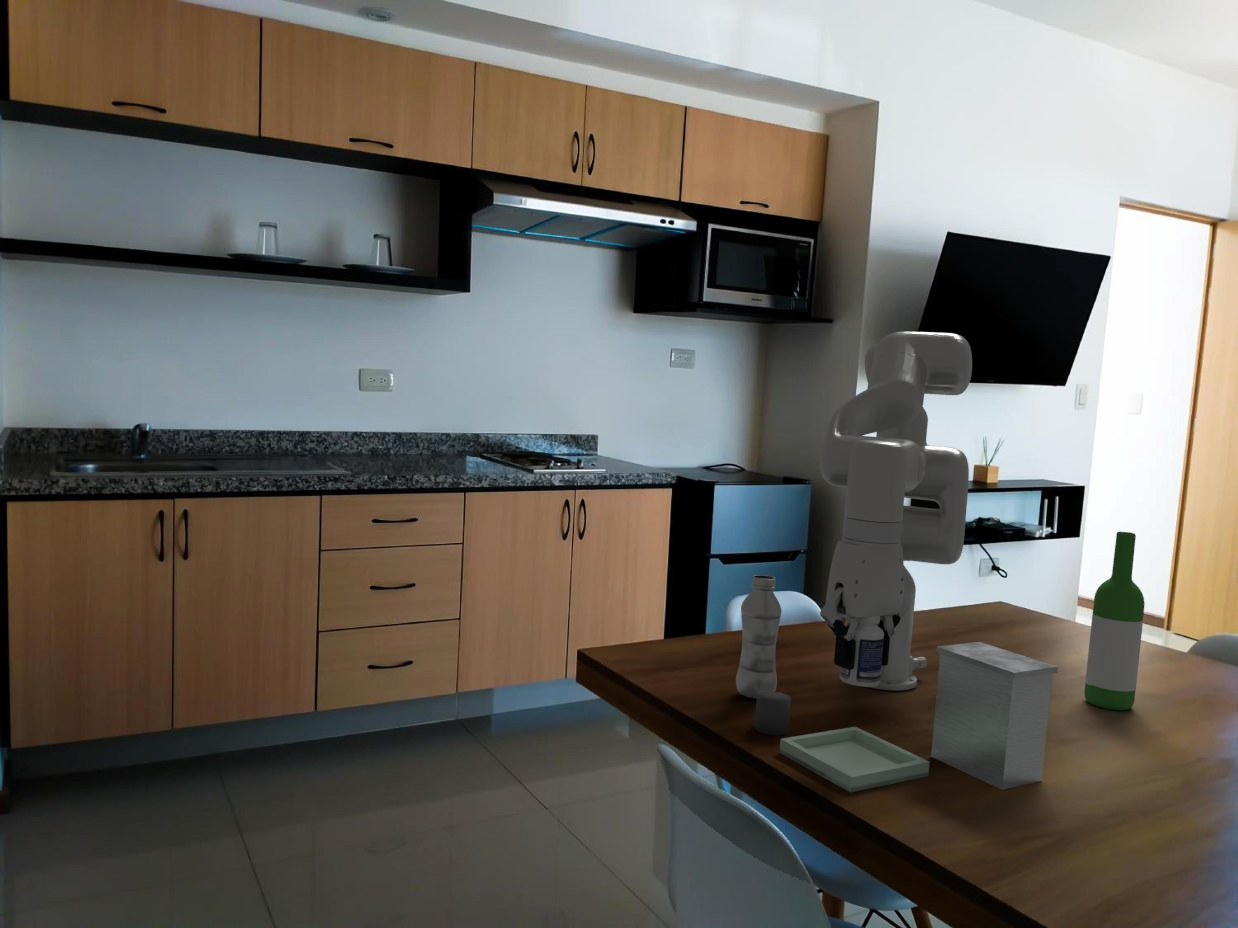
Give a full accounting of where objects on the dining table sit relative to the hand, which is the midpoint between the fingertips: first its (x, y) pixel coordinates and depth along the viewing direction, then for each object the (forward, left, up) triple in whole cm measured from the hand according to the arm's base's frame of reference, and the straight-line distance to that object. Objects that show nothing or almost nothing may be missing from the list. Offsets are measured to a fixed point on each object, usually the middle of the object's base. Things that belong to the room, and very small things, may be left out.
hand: (860, 663), depth 130 cm
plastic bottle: (-5, -28, -14) cm, 32 cm away
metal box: (-17, +8, -14) cm, 23 cm away
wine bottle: (-63, -4, -14) cm, 65 cm away
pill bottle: (0, 0, -3) cm, 3 cm away
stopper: (+2, -15, -14) cm, 21 cm away
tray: (0, 0, -14) cm, 14 cm away
